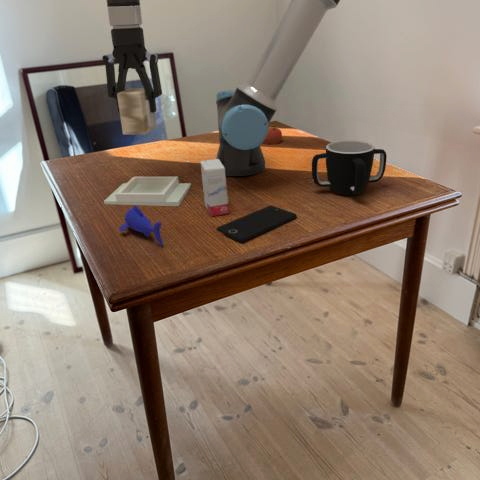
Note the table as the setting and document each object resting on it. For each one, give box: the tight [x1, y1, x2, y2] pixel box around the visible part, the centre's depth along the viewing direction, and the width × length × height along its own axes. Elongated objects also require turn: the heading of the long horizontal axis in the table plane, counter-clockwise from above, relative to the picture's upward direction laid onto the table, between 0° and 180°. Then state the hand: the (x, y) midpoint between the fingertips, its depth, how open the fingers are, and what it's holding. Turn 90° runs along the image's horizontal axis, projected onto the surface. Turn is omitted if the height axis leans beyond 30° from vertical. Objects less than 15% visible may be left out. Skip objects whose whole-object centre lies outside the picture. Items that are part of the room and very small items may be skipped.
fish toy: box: [119, 205, 164, 247], centre depth 106 cm, size 15×8×7 cm, turn 41°
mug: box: [311, 140, 387, 196], centre depth 124 cm, size 16×16×12 cm
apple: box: [262, 124, 283, 145], centre depth 167 cm, size 7×7×8 cm
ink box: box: [200, 158, 230, 217], centre depth 117 cm, size 9×5×12 cm, turn 13°
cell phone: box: [216, 205, 298, 243], centre depth 111 cm, size 9×18×1 cm, turn 132°
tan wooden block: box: [117, 87, 157, 136], centre depth 121 cm, size 6×8×10 cm
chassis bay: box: [103, 176, 192, 207], centre depth 129 cm, size 20×14×4 cm
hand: (139, 125), depth 123 cm, fingers closed on tan wooden block, 6 cm apart
